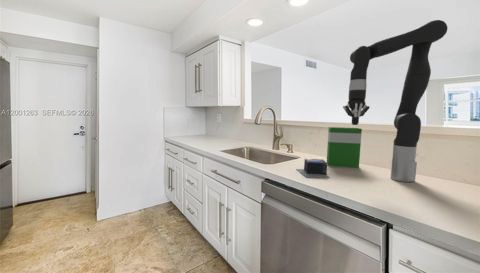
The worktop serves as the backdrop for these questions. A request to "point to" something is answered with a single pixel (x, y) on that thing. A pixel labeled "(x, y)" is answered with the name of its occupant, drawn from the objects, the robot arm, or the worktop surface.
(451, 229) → the worktop surface
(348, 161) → the green cereal box
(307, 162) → the small box
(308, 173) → the mat
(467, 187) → the worktop surface
